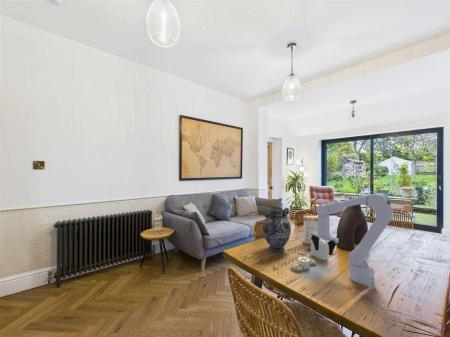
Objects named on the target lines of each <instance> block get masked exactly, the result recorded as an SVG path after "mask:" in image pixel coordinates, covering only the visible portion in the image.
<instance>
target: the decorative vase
mask: <svg viewBox="0 0 450 337" xmlns="http://www.w3.org/2000/svg"><path fill="white" fill-rule="evenodd" d="M289 214H290V208H289V207H284V208H282V207H278V206H272V207H270V208H269V209H265V210H263V217H265V218H264V220H263V222H262V234H263V238H264V239H265V241H266V242H267V244H268V245H269V246H268V250H269V251H271V252H272V253H273V252H274V253H282V252H285V246H286V244H287V243H288V241H289V239H290V237H291V233H292V232H291V231H292V226H291V223H290V221H289V219H288V215H289Z"/></svg>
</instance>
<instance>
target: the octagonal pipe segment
mask: <svg viewBox="0 0 450 337" xmlns="http://www.w3.org/2000/svg"><path fill="white" fill-rule="evenodd" d="M302 258H306V260H302ZM309 259H310V258H308V257H305V256H300V257H298V260H297V261H298V262H297V263H298V265H301V267H303V269H309V268H310V260H309Z"/></svg>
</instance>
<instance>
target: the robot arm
mask: <svg viewBox="0 0 450 337" xmlns="http://www.w3.org/2000/svg"><path fill="white" fill-rule="evenodd" d="M358 205H364V206H369V207H370V209H372V210H374V213H375V214H376V218H375V220H374V221H373V223H372V224H371V225H370V227H369V228H368V230H367V232H365V234H364V235H363V238H362V239H361V241H360V242H359V243H358V244H357V246H356V247H355V248H354V249H352V251H350V252H349V253H348V254H347V255H348V256H347V258H348V261H349V279H350V280H351V281H353V282H355V283H357V284H361V285H364V286H366V287H364V289H365V290H367V291H368V290H370V289H372V288H373V287H374V286H376V283H375V269H374V268H373V267H371V266H369V265H368V262H367V260H368V259H369V254H370V251H371V250H372V248H373V246H374V245H375V244H376V242H377V241H378V239H379V237H381V235H382V233H383V232H384V231H385V229H386V228H387V226H388V225H389V223H390V222H391V221H392V219H393V212H392V211H393V210H392V201H391V200H390V198H389V197H388V195H387V194H385V193H383V192H376V193H369V194H365V195H364V194H363V195H360V196H356V197H353V198H350V199H346V200H344V201H343V200H341V199H338V200H337V199H333V200H332V201H331V202H324V204H323V203H322V204H319V205H318V206H317V207H316V208H315V212H316V214H317V216H318V233H316V232H310V236H312V237H311V240H312V241H313V244H314V247H315V250H316V251H317V250H319V239H320V238H322V239H325V240H327V244H328V255H329V256H332V255H333V254H334V250H335V247H336V246H337V244H338V243H339V238H338V237H334V236H332V235H330V233H331V232H330V227H331V225H330V224H331V223H330V221H331V220H330V215H332V214H336V213H340V212H344V211H345V209H346V208H349V207H354V206H358Z"/></svg>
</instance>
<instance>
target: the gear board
mask: <svg viewBox="0 0 450 337" xmlns="http://www.w3.org/2000/svg"><path fill="white" fill-rule="evenodd" d="M306 258H307V257H306ZM306 258H302V260H306ZM308 259H309V260H310V268H309V269H303V267H301V265H298V262H297V263H294V264H291V265H290V266H288V267H286V269H288V270H290V271H292V272H294V273H296V274H298V275H300V276H303V277H304V278H307V279H309V280H311V281H313V282H315V281H318V280H320V279H322V278H323V277H326V276H327V275H328V274H330V273H333V272H334V269H331V268H329V267H327V266H323V265H321V264H319V263H317V261H316V260H315V259H312V258H308Z"/></svg>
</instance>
